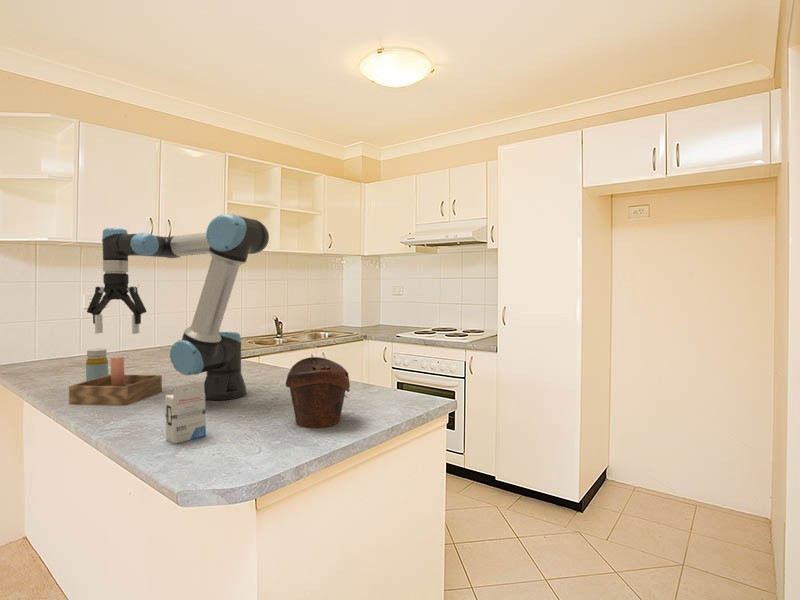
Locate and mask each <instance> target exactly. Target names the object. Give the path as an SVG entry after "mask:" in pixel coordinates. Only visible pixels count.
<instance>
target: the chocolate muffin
mask: <svg viewBox="0 0 800 600" xmlns="http://www.w3.org/2000/svg"><path fill="white" fill-rule="evenodd" d="M350 386H351V383H350V376H349V372H348V371H347V369H345V368H344V367H343V366H342V365H341V364H339V363H337V362H336V361H333V360H331V359H329V358H325V357H317V356H316V357H315V356H311V357H307V358H302V359H301V360H299V361H297V362H296V363H295V364H294V365H292V366H291V367H290V370H289V371H288V373H287V377H286V381H285V387H287V388H289V391H290V395H291V396H290V397H291V402H292V406H293V411H294V418H295V423H296V424H297V425H298V426H301V427H306V428H312V429H317V428H319V429H320V428H328V427H332V426H334V425H336V424H338V423H339V422H340V420H341V416H342V411H343V407H344V401H345V398H347V395H346V392H348V393H350Z"/></svg>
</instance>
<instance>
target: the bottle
mask: <svg viewBox="0 0 800 600" xmlns="http://www.w3.org/2000/svg"><path fill="white" fill-rule="evenodd" d="M86 356H87V359H86V362H85V377H86V378H85V379H86V380H85V381H89V380H92V379H96V378H100V377H103V376H107V375H109V361H108V357H107V349H106V348H102V347H101V348H91V349H87V350H86Z"/></svg>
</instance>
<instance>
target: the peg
mask: <svg viewBox="0 0 800 600" xmlns="http://www.w3.org/2000/svg"><path fill="white" fill-rule="evenodd" d="M110 374H111V386H121V387H125V384H124V375H125V357H123V356H116V357H111V358H110Z"/></svg>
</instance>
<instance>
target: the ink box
mask: <svg viewBox="0 0 800 600" xmlns="http://www.w3.org/2000/svg"><path fill="white" fill-rule="evenodd" d="M204 382H205V380H201V381H196V382H190V383H183V384H180V385H179V384H178V385H173V386H172V394H166V395H165V396H164V405H165V407H164V408H165V410H164V411H165V438H166V439H165V440H166V441H168V442H170V443H172V444H180V443H183V442H188V441H191V440H195V439H198V438H202V437H205V436H207V427H206V425H207V424H206V423H207V422H206V420H207V419H206V418H207V417H206V416H207V415H206V399H205V391H204ZM188 388H194V389H189V390H185V389H188Z"/></svg>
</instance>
